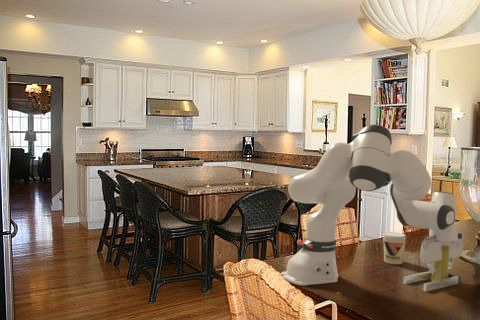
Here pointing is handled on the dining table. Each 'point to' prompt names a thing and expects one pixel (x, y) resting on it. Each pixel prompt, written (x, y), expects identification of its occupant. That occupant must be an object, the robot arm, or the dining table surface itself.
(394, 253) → the coffee cup
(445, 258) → the vase
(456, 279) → the rail board
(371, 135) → the robot arm
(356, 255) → the dining table surface
